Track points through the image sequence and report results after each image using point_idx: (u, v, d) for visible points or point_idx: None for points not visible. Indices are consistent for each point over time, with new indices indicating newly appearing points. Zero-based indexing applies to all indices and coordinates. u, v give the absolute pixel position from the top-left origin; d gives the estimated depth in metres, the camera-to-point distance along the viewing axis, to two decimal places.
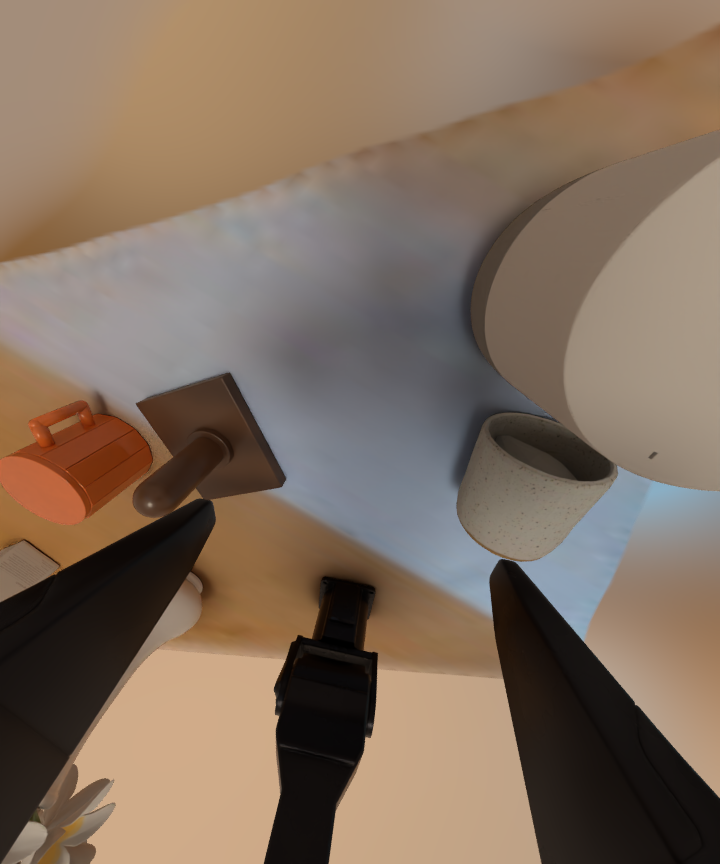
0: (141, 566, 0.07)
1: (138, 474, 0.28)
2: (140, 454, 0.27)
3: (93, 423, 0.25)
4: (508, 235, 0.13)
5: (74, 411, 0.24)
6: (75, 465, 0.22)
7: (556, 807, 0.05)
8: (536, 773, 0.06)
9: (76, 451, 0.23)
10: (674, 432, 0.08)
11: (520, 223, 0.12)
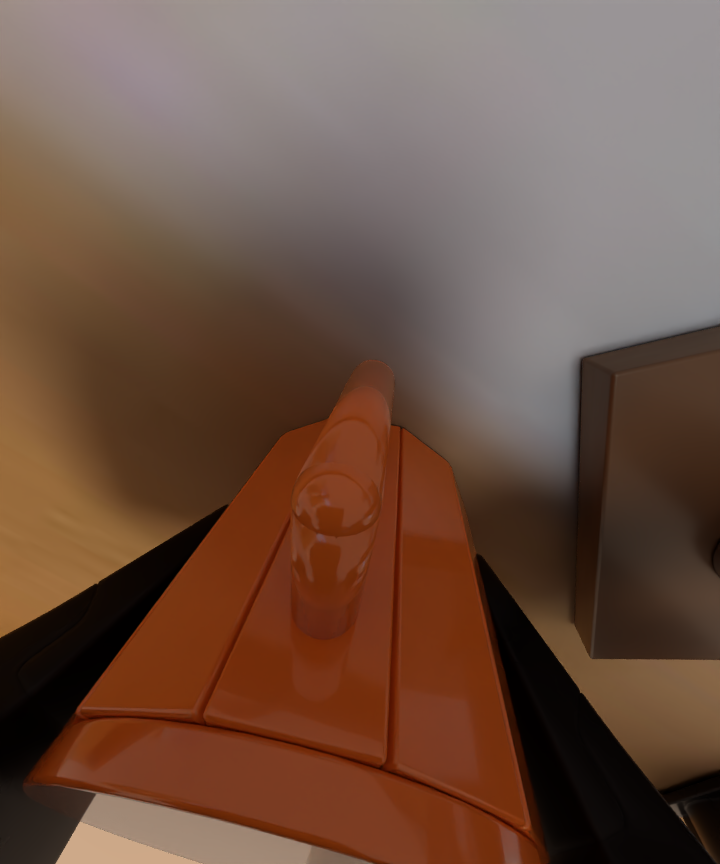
0: None
1: None
2: None
3: None
4: None
5: None
6: (509, 736, 0.04)
7: None
8: None
9: (449, 618, 0.04)
10: None
11: None
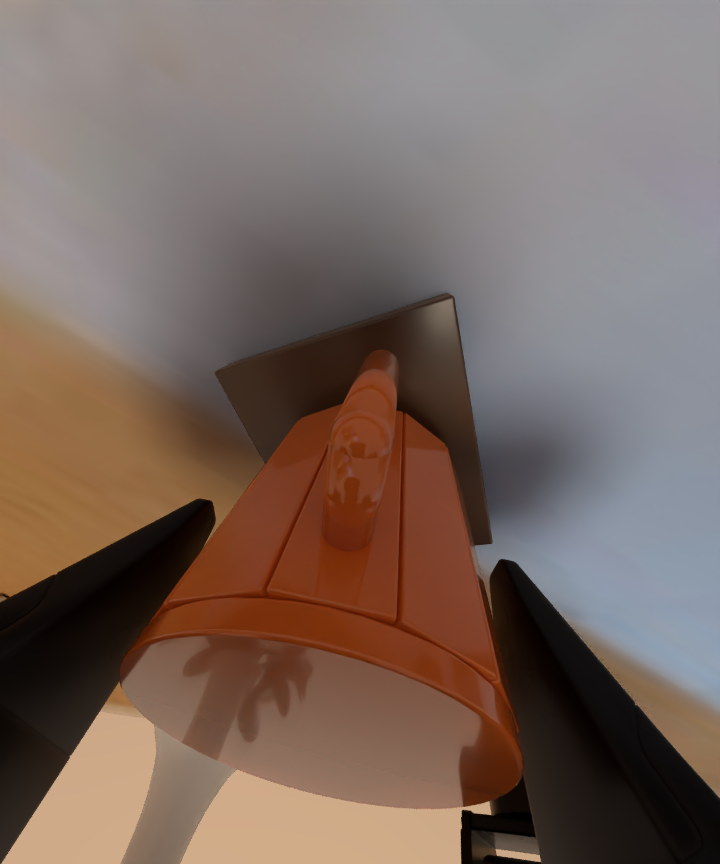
0: (141, 566, 0.07)
1: None
2: None
3: None
4: None
5: None
6: (487, 631, 0.05)
7: (556, 807, 0.05)
8: (536, 772, 0.06)
9: (443, 550, 0.05)
10: None
11: None
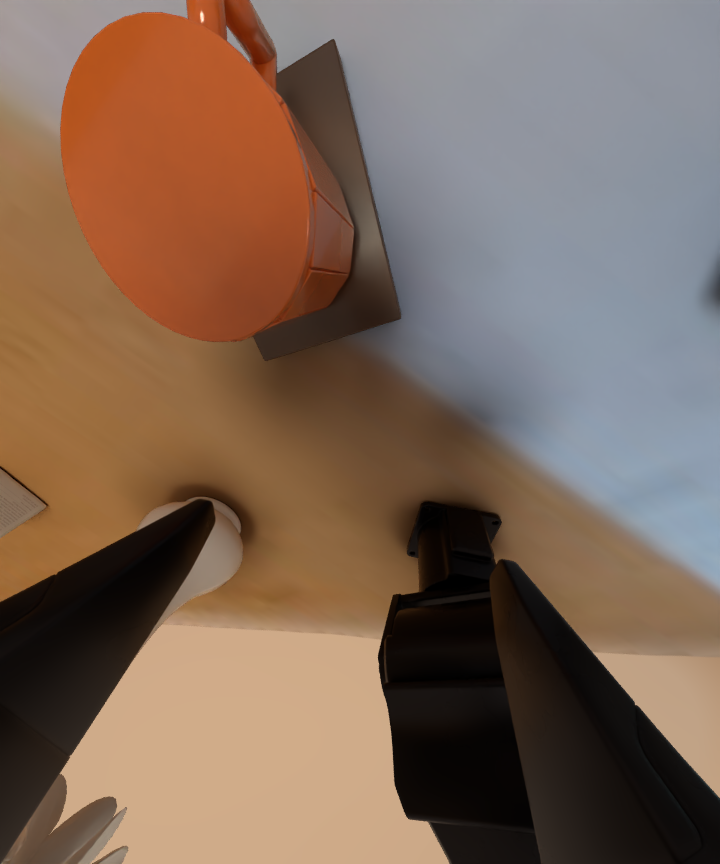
0: (141, 566, 0.07)
1: (333, 288, 0.13)
2: (349, 236, 0.13)
3: None
4: None
5: (263, 30, 0.09)
6: (294, 120, 0.08)
7: (556, 807, 0.05)
8: (536, 773, 0.06)
9: None
10: None
11: None
